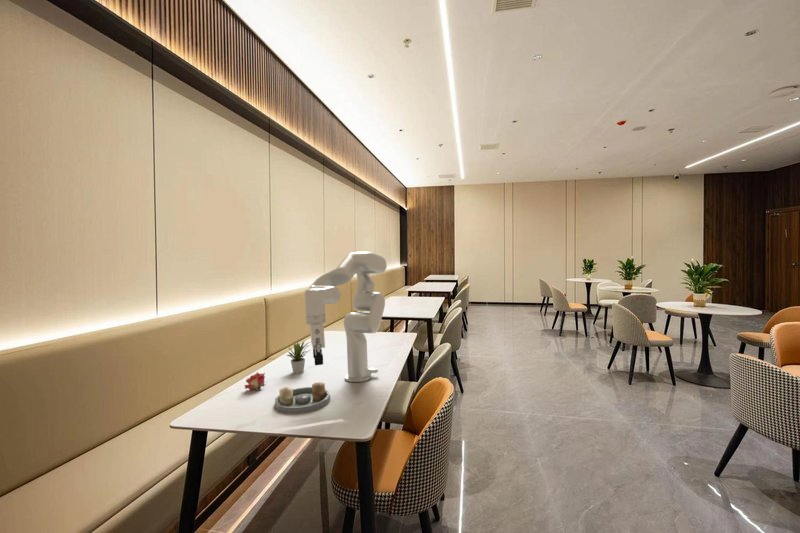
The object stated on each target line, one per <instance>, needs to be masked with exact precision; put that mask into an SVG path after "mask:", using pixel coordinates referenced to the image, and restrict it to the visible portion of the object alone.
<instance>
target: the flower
mask: <svg viewBox="0 0 800 533" xmlns="http://www.w3.org/2000/svg"><path fill="white" fill-rule="evenodd" d="M265 378H266V375H265V372H264V373H259V372H256V373H255V374H253V375H251V376H250V377H248V378H247V379H245V381H246V383H247V384H245V385H244V389H245V390H247V389H248V390H249V391H257V389H258V391H262V389H261V388H262V387H265V386H266V384H267V383H266V384H265Z"/></svg>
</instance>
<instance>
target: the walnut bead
mask: <svg viewBox="0 0 800 533" xmlns="http://www.w3.org/2000/svg"><path fill="white" fill-rule="evenodd" d="M311 387H312V396H313V401H314V402H320V401H321V400H323V399H325V389H326V384H325V383H324V382H321V381H319V382H315V383H313V384H311Z"/></svg>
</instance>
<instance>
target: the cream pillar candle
mask: <svg viewBox="0 0 800 533" xmlns="http://www.w3.org/2000/svg"><path fill="white" fill-rule="evenodd" d="M293 389H294V388H293V387H292V386H283V387H281V388H279V389H278V390H279V391H278V392H279V395H280V405H283V406H290V405H292V404H293ZM279 395H278V396H279Z"/></svg>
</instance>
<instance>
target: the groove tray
mask: <svg viewBox="0 0 800 533" xmlns="http://www.w3.org/2000/svg"><path fill="white" fill-rule="evenodd" d="M330 401H331V394H330V390H328V389H326V388H325V399H323V400H321V401H320V402H314V401H313V396H312V386H307V387H305V386H304V387H297V388H293V404H292V405H290V406H283V405H280V395H278V396H277V397H275V400H274V408H275V409H276V410H277V411H278V412H280V413H283V414H302V413H309V412H312V411H313V412H314V411H316V410H318V409H321V408H323V407H325V406H326V405H328V404H329V402H330Z"/></svg>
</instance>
